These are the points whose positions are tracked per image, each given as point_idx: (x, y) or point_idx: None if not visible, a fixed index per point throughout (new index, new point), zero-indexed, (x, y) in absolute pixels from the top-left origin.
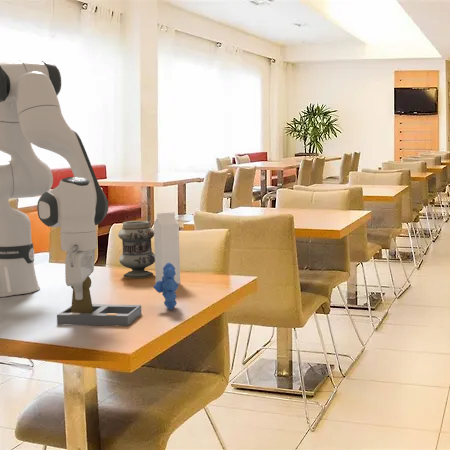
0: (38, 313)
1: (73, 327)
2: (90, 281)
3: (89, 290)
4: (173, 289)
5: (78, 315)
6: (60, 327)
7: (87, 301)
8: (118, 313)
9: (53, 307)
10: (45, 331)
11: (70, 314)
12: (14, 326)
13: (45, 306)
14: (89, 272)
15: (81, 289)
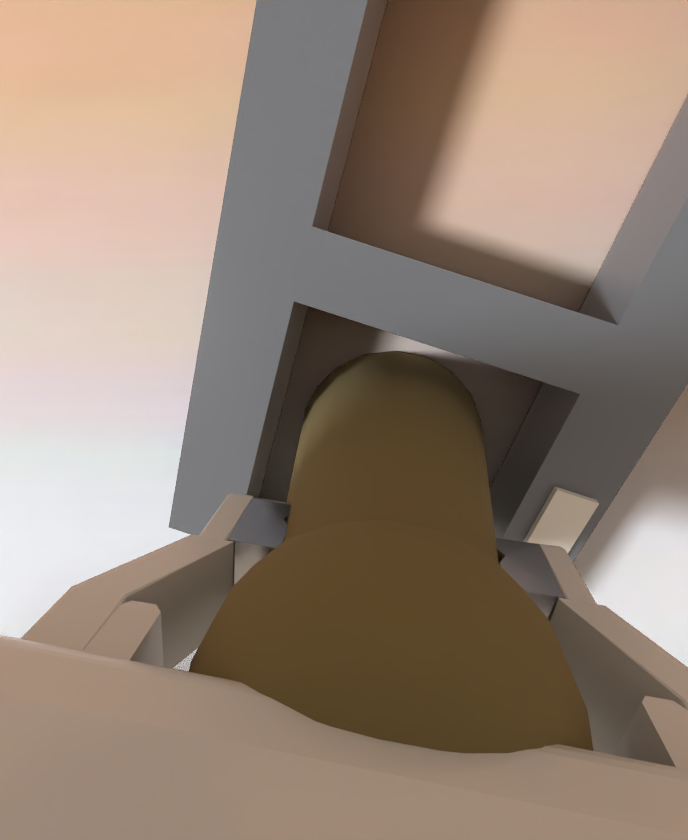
0: (186, 666)
1: (640, 496)
2: (457, 593)
3: (400, 501)
4: None
5: (611, 500)
6: (598, 571)
7: (474, 466)
8: (351, 119)
9: (40, 599)
10: (667, 646)
11: None
12: None
13: (18, 634)
14: (67, 745)
15: (669, 662)
